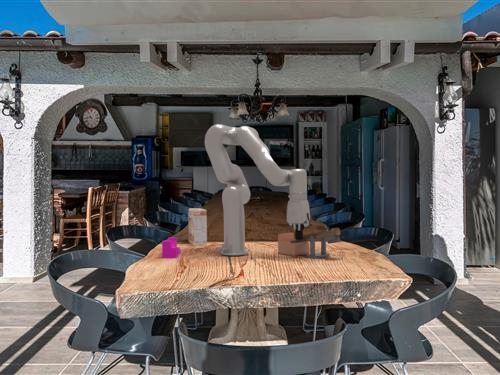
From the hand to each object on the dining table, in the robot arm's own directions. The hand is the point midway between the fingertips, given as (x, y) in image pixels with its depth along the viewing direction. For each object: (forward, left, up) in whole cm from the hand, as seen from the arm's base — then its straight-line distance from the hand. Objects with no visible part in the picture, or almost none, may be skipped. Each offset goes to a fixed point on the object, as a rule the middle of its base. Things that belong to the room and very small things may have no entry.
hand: (299, 239), depth 206 cm
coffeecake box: (-9, +61, -8) cm, 62 cm away
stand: (+6, -5, -8) cm, 12 cm away
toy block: (-35, +45, -8) cm, 58 cm away
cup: (+6, +9, -8) cm, 13 cm away
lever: (+6, -5, +1) cm, 8 cm away
